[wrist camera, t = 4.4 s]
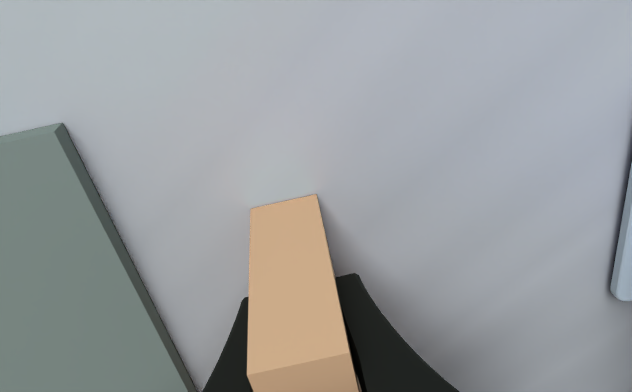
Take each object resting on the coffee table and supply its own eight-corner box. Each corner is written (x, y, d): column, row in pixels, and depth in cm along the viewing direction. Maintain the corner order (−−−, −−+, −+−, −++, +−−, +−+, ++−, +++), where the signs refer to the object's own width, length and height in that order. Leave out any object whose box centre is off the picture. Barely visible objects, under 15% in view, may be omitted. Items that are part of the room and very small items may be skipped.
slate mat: (62, 122, 12) (53, 131, 12) (233, 464, 21) (232, 479, 20) (-239, 189, 12) (-260, 201, 12) (51, 504, 21) (46, 519, 20)
